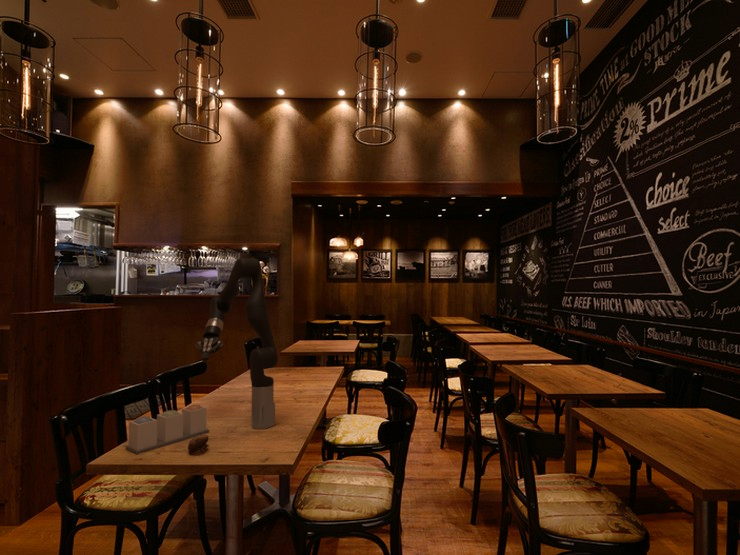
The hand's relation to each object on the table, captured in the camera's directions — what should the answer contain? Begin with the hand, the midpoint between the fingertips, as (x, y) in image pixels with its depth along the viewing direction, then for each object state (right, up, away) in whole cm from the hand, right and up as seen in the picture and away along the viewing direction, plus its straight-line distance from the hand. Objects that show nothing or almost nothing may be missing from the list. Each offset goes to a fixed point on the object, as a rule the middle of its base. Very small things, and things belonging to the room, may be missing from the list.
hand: (204, 360), depth 175 cm
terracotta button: (+1, -19, -12) cm, 23 cm away
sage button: (-5, -19, -21) cm, 28 cm away
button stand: (-5, -27, -21) cm, 34 cm away
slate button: (-11, -19, -29) cm, 36 cm away
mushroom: (+11, -26, -33) cm, 44 cm away
